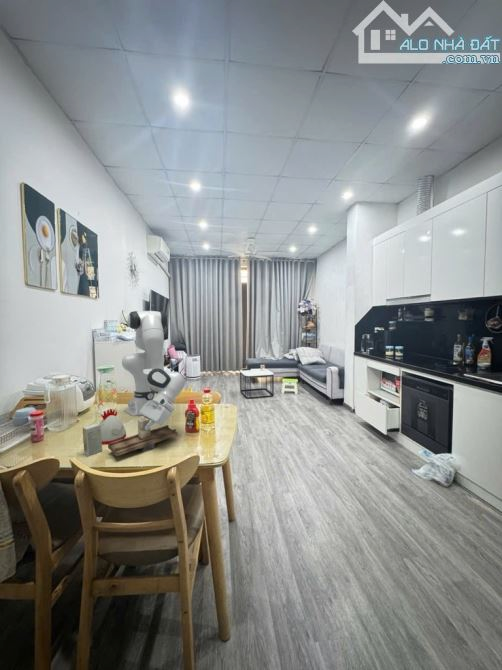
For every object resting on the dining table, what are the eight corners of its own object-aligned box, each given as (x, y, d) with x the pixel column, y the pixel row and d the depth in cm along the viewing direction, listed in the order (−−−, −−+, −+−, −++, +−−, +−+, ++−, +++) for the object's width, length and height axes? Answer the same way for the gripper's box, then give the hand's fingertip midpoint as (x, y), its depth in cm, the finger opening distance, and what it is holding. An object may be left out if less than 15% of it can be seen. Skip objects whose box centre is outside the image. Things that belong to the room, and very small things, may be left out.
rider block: (146, 433, 126) (146, 417, 126) (150, 436, 123) (149, 419, 123) (138, 436, 123) (137, 419, 123) (141, 439, 120) (141, 421, 120)
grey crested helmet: (88, 441, 130) (87, 411, 129) (114, 431, 142) (113, 403, 141) (106, 447, 123) (105, 415, 123) (131, 435, 135) (130, 407, 135)
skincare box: (98, 448, 122) (97, 422, 121) (102, 451, 119) (101, 424, 119) (83, 453, 117) (81, 426, 117) (86, 456, 114) (85, 429, 114)
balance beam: (166, 433, 137) (166, 424, 137) (177, 440, 129) (177, 430, 129) (108, 453, 117) (107, 442, 117) (117, 462, 109) (116, 450, 109)
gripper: (148, 394, 135) (129, 418, 128) (167, 402, 120) (147, 430, 114) (156, 401, 138) (138, 425, 131) (176, 410, 124) (157, 437, 117)
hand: (142, 427), depth 122 cm, fingers closed on rider block, 4 cm apart
